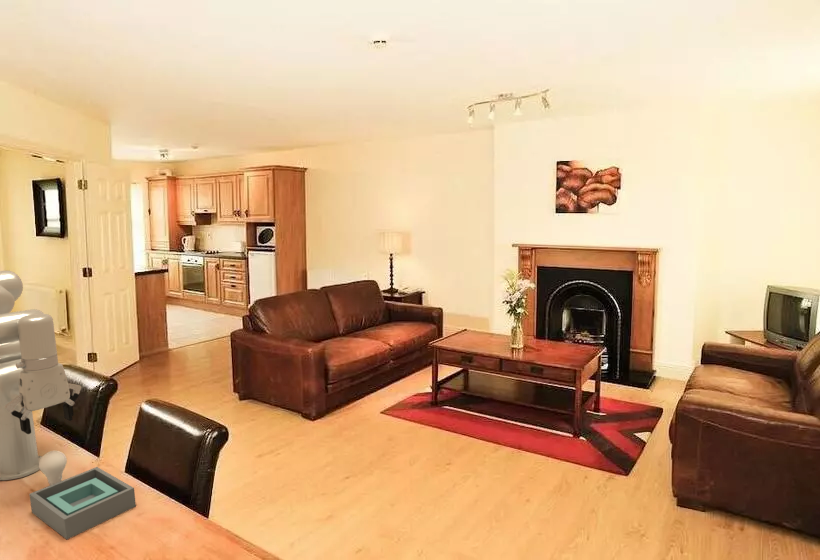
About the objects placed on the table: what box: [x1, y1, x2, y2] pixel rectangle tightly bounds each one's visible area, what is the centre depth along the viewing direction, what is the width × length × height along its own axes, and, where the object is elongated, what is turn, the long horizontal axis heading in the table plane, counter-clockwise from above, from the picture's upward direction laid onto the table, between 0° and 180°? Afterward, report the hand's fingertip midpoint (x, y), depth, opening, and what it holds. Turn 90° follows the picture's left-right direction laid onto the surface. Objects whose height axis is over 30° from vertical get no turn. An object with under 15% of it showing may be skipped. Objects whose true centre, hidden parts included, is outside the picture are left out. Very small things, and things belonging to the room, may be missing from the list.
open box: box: [28, 466, 137, 540], centre depth 135 cm, size 19×16×5 cm
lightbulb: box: [39, 450, 68, 486], centre depth 143 cm, size 6×6×11 cm
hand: (48, 425), depth 141 cm, fingers open, 9 cm apart
